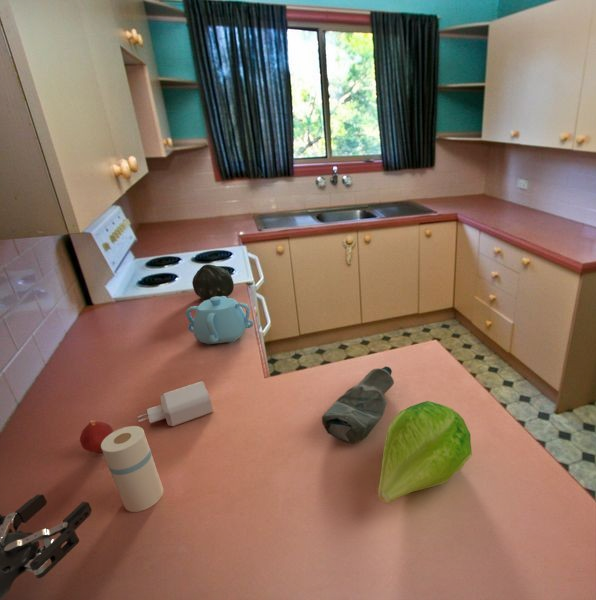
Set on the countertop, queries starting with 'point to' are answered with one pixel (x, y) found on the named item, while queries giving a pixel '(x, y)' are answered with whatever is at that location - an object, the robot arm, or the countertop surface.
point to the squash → (212, 282)
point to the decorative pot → (219, 320)
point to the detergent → (359, 407)
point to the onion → (94, 435)
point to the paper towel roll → (132, 468)
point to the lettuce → (422, 449)
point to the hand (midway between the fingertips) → (65, 501)
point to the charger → (181, 405)
